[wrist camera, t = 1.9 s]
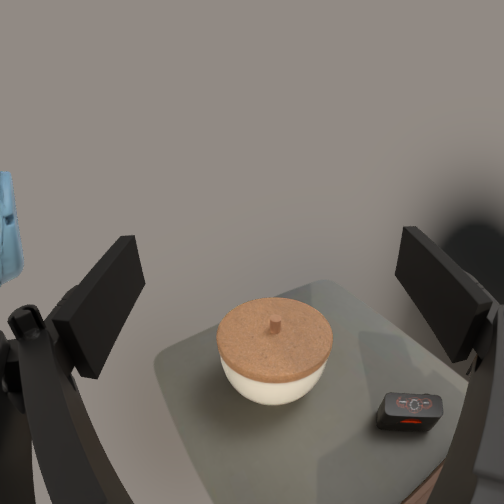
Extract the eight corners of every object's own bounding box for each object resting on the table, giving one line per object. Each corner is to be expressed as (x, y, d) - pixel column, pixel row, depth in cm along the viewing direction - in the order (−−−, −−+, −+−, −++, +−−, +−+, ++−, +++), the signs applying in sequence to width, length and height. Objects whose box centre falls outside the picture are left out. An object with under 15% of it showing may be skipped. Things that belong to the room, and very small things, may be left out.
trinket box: (248, 438, 25) (244, 382, 20) (209, 364, 33) (199, 300, 29) (340, 395, 29) (360, 333, 24) (290, 336, 37) (295, 274, 33)
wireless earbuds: (436, 433, 22) (450, 417, 21) (374, 431, 24) (384, 414, 23) (434, 399, 26) (445, 381, 25) (376, 395, 28) (385, 377, 26)
